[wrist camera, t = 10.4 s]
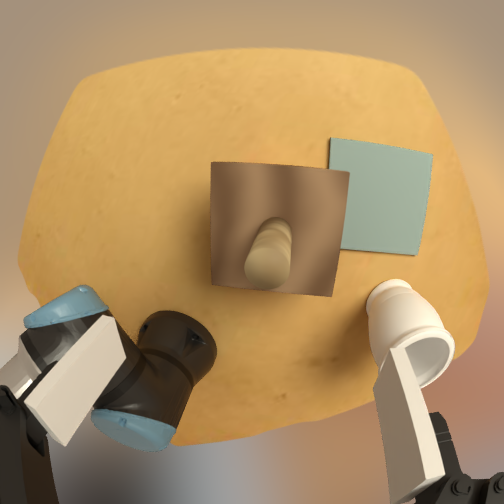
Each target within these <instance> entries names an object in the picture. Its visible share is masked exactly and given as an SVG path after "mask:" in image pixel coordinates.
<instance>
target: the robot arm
mask: <svg viewBox="0 0 504 504" xmlns="http://www.w3.org/2000/svg"><path fill="white" fill-rule="evenodd" d="M108 309H109V307H108V306H107V305H105V304H104V302H103V301H102V300H101V299H100V297H99V296H98V295H97V293H96V292H95V291H94V290H93V288H91V287H90V286H88V285H79V286H77V287H75V288H73V289H72V290H70V291H68V292H66V293H64V294H63V295H61V296H59V297H58V298H56V299H54V300H52V301H51V302H49V303H47V304H46V305H44V306H42V307H41V308H39V309H37V310H36V311H34V312H33V313H31V314H29V315H28V316H26V317H25V318H24V326H25V327H26V328H28V329H27V330H26V331H25V332H24V333H23V334H21V335H20V336H19V349H18V353H17V354H16V355H15V356H14V357H13V358H12V359H11V360H10V361H9V362H7V363H6V365H4V366H3V367H2V368H1V369H0V504H59V502H58V497H57V493H56V489H55V484H54V479H53V473H52V468H51V461H50V454H49V446H48V440H47V437H46V434H47V433H49V434H50V436H51V437H52V438H53V439H54V440H55V441H57V442H59V443H60V444H62V445H64V446H66V445H67V443H68V442H69V440H70V439H71V437H72V436H73V434H74V432H75V431H76V430H77V428H78V427H79V425H80V424H81V422H82V421H83V419H84V418H85V416H86V415H87V413H88V412H89V410H90V409H91V407H92V406H93V407H94V410H92V412H91V421H92V422H93V423H94V425H95V426H96V427H97V428H98V429H99V430H100V431H101V432H103V433H104V434H105V435H107V436H108V437H110V438H112V439H114V440H115V441H117V442H119V443H121V444H124V445H126V446H129V447H131V448H135V449H138V450H142V451H148V452H158V451H162V450H163V449H165V448H166V447H167V446H168V444H169V442H170V440H171V439H172V437H173V435H174V434H175V433H176V429H177V427H178V424H179V422H180V419H181V417H182V414H183V412H184V409H185V407H186V404H187V402H188V399H189V397H190V394H191V392H192V389H193V387H194V386H195V385H196V384H197V383H198V382H199V381H200V380H201V379H202V378H203V377H204V376H205V375H206V374H207V373H208V372H209V371H210V370H211V368H212V366H213V364H214V362H215V359H216V355H217V348H216V344H215V341H214V339H213V337H212V336H211V334H210V333H209V332H208V330H207V329H206V328H205V327H204V326H203V325H202V324H200V323H199V322H198V321H196V320H195V319H193V318H191V317H189V316H187V315H185V314H182V313H179V312H175V311H159V312H156V313H154V314H152V315H150V316H149V317H148V318H147V320H146V321H145V322H144V323H143V325H142V326H141V328H140V331H139V335H138V339H137V344H136V345H135V344H134V342H133V341H132V340H131V339H130V337H129V336H128V335H127V334H126V332H125V331H124V330H123V329H122V327H121V326H120V325H119V323H118V322H117V321H116V319H115V318H114V317H113V315H112V314H111V312H110V311H109V310H108ZM373 392H374V397H375V401H376V406H377V412H378V417H379V422H380V428H381V434H382V440H383V446H384V453H385V459H386V467H387V475H388V484H389V494H390V504H401V503H405V502H409V501H410V500H411V499H413V498H414V497H415V499H416V503H414V504H504V472H499V473H497V474H495V475H494V476H493V477H491V478H490V479H471V477H469V476H468V475H467V474H463V473H462V471H461V469H460V466H459V462H458V458H457V455H456V451H455V448H454V445H453V442H452V441H451V439H452V438H451V435H450V433H449V429H448V426H447V423H446V420H445V419H444V418H443V417H442V415H441V414H440V413H439V412H434V413H428V411H427V407H426V404H425V402H424V398H423V396H422V393H421V390H420V387H419V384H418V382H417V379H416V376H415V374H414V371H413V368H412V366H411V363H410V361H409V358H408V356H407V353H406V351H405V348H390V349H389V351H388V354H387V357H386V359H385V361H384V364H383V366H382V369H381V371H380V373H379V376H378V378H377V380H376V382H375V385H374V387H373Z"/></svg>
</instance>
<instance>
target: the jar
mask: <svg viewBox="0 0 504 504" xmlns="http://www.w3.org/2000/svg"><path fill="white" fill-rule="evenodd" d="M366 311H367V315H368V317H369V318H368V327H369V341H370V347H371V351H372V354H373V357H374V360H375V362H376V364H377V366H378V368H379V369H378V376H379V373H380V371H381V369H382V366H383V364H384V361H385V359H386V357H387V354H388V351H389V349H390V348H405V351H406V353H407V356H408V358H409V361H410V363H411V366H412V368H413V371H414V374H415V376H416V379H417V382H418V384H419V387H420V388H423V387H425V386H426V385H428V384H430V383H431V382H433V381H434V380H436V379H437V378H438V377H439V376H440V375H441V374H442V373H443V372H444V371H445V370H446V368H447V367H448V366H449V364H450V363H451V361H452V358H453V356H454V352H455V342H454V339H453V337H452V336H451V334H450V333H449V332H448V331H447V330H445V329H444V326H443V324H442V321H441V319H440V317H439V315H438V314H437V312H436V311H435V309H434V308H433V307H432V306H431V304H430V303H429V302H427V301H426V300H425V299H424V298H423V297H422V296H421V295H419V294H418V293H417V292H416V291H414V290H412V288H411V286H410V285H409V284H408V283H407V282H405V281H403V280H400V279H391V280H387V281H385V282H383V283H381V284H379V285H378V286H377V287H376V288H375V289H374V290H373V291H372V292H371V294H370V295H369V297H368V300H367V304H366Z"/></svg>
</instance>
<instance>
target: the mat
mask: <svg viewBox="0 0 504 504" xmlns="http://www.w3.org/2000/svg"><path fill="white" fill-rule="evenodd" d="M432 160H433V154H429V153H424V152H420V151H415V150H410V149H405V148H400V147H394V146H388V145H383V144H376V143H370V142H363V141H355V140H347V139H339V138H330V157H329V169H332V170H341V171H348V172H350V177H349V187H348V196H347V205H346V213H345V220H344V228H343V235H342V241H341V248H340V249H351V250H363V251H375V252H387V253H398V254H409V255H418V251H419V247H420V242H421V237H422V232H423V227H424V221H425V216H426V210H427V203H428V196H429V189H430V180H431V171H432Z"/></svg>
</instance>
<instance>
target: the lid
mask: <svg viewBox="0 0 504 504" xmlns="http://www.w3.org/2000/svg"><path fill="white" fill-rule="evenodd" d="M349 177H350V172H348V171H341V170H332V169H323V168H314V167H303V166H292V165H279V164H263V163H243V162H211V277H212V285H218V286H227V287H235V288H244V289H253V290H262V291H272V292H282V293H292V294H303V295H314V296H326V297H332V293H333V288H334V283H335V277H336V272H337V266H338V260H339V254H340V248H341V241H342V235H343V228H344V220H345V213H346V205H347V196H348V187H349Z"/></svg>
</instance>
